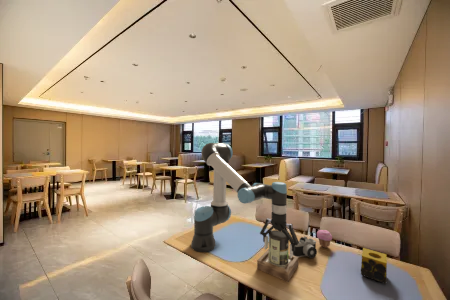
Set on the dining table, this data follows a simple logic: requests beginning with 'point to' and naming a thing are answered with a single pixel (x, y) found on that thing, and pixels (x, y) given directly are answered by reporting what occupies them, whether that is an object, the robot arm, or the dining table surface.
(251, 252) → the dining table surface
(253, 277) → the dining table surface
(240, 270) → the dining table surface
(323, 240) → the cupcake
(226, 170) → the robot arm
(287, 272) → the wooden box
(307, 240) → the camera
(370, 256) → the tissue box
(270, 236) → the coffee can
